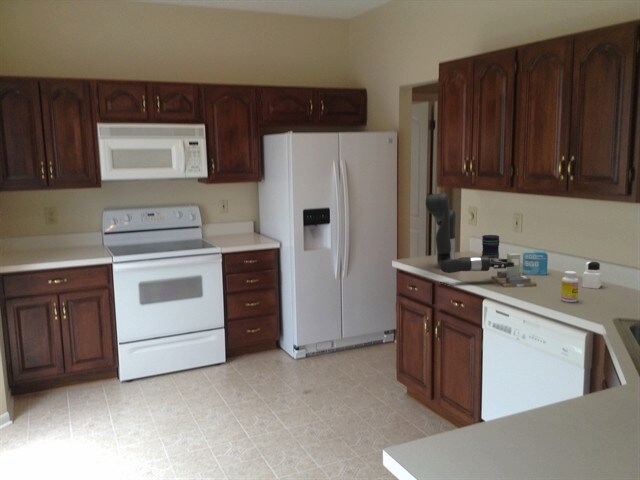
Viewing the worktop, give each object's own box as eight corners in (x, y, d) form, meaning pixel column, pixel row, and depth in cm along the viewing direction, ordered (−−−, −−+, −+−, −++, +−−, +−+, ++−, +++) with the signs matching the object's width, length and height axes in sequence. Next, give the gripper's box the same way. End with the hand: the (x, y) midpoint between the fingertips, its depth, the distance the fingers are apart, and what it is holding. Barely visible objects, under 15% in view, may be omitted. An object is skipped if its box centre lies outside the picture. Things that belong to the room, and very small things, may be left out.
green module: (506, 278, 288) (507, 253, 286) (516, 278, 288) (517, 253, 286) (509, 280, 283) (510, 255, 281) (519, 280, 283) (520, 255, 281)
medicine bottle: (601, 285, 273) (602, 261, 271) (598, 289, 267) (599, 264, 265) (584, 284, 277) (586, 260, 275) (582, 287, 271) (583, 262, 269)
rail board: (491, 277, 295) (491, 270, 295) (521, 277, 296) (522, 269, 295) (503, 287, 276) (504, 279, 275) (536, 286, 276) (536, 278, 275)
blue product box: (522, 274, 301) (523, 252, 299) (522, 272, 305) (523, 250, 303) (547, 275, 298) (547, 253, 296) (546, 273, 302) (547, 251, 300)
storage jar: (478, 259, 343) (479, 235, 341) (493, 258, 345) (494, 234, 342) (486, 262, 333) (487, 237, 331) (502, 261, 335) (502, 236, 333)
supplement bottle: (572, 303, 245) (573, 274, 243) (558, 300, 250) (559, 272, 248) (580, 300, 248) (581, 272, 246) (566, 297, 254) (567, 269, 252)
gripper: (483, 259, 276) (516, 258, 277) (474, 253, 290) (506, 252, 291) (482, 274, 278) (515, 273, 278) (474, 268, 292) (505, 267, 292)
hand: (510, 262), depth 284 cm, fingers open, 8 cm apart
